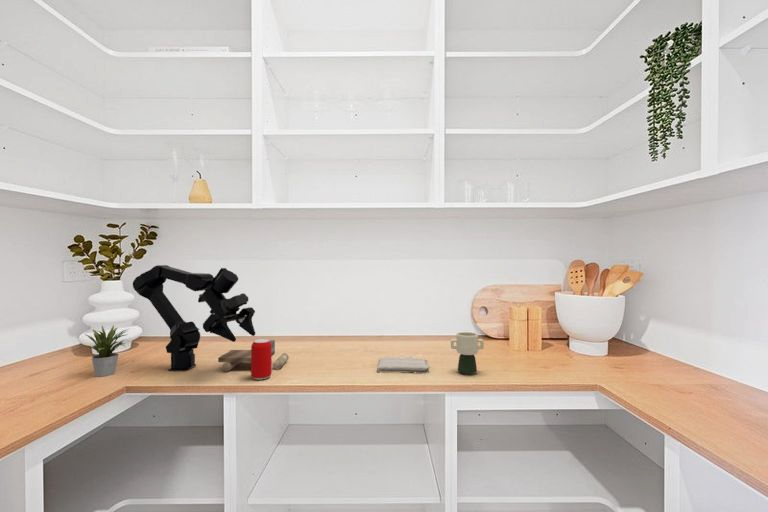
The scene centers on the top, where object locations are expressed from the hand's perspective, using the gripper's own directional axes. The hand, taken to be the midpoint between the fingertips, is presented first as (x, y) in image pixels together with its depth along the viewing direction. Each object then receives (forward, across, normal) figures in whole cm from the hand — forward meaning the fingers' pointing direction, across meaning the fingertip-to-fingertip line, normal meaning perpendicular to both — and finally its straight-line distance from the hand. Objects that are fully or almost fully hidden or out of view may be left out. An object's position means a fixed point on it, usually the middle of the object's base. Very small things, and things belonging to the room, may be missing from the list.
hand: (245, 337), depth 120 cm
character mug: (+57, +27, -39) cm, 74 cm away
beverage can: (+13, 0, +4) cm, 14 cm away
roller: (+12, +14, +6) cm, 19 cm away
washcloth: (+42, +25, -23) cm, 54 cm away
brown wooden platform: (+4, +9, +13) cm, 17 cm away
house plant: (-22, -14, +40) cm, 48 cm away
